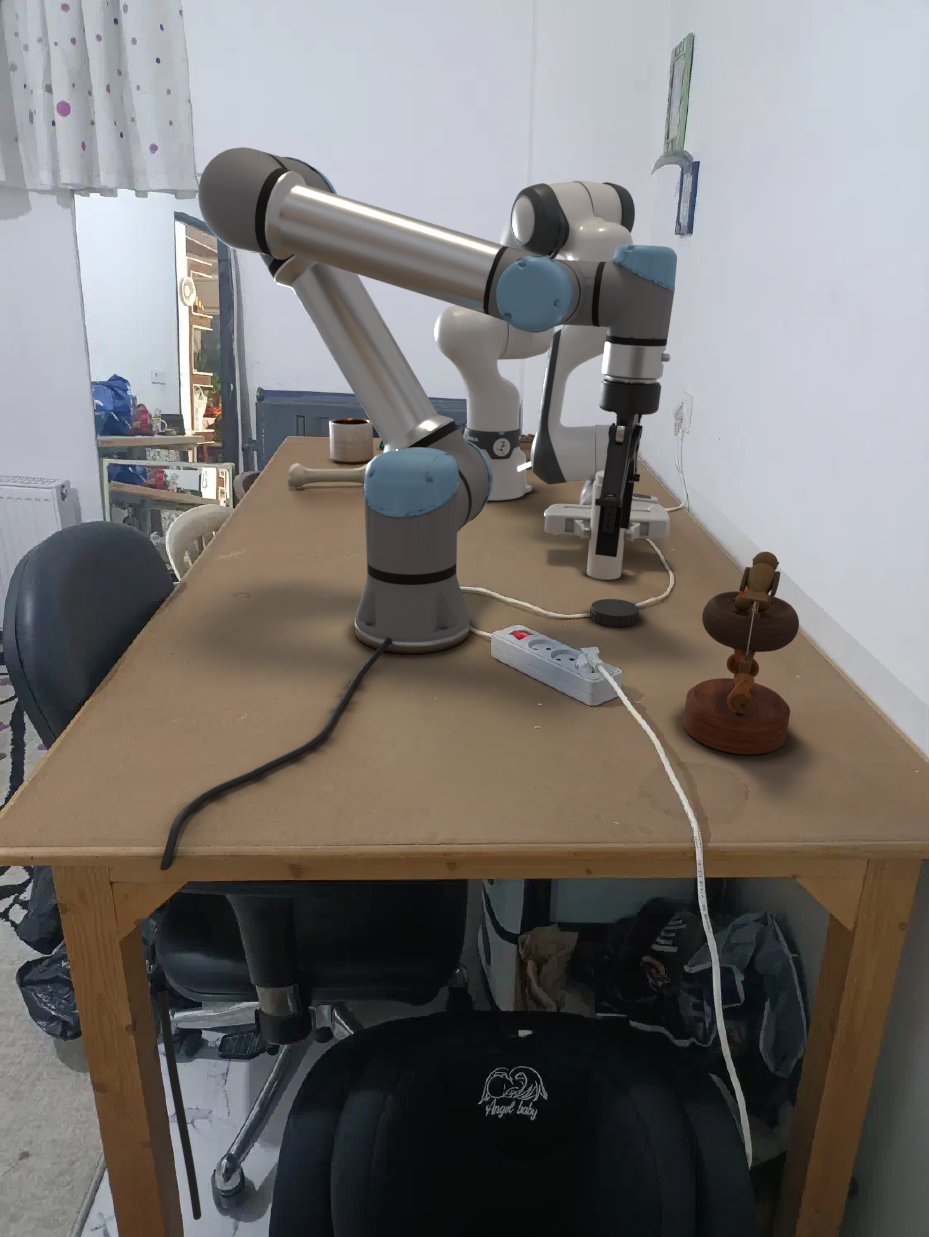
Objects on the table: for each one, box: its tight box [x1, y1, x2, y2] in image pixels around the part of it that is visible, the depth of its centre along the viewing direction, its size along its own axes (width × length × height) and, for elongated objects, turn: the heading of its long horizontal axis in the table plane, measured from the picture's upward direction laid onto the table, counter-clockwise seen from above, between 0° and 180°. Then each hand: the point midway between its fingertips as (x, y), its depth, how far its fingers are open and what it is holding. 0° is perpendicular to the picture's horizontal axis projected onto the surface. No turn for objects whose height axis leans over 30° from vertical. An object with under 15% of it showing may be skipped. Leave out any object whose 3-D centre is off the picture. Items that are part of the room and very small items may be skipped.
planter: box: [328, 417, 375, 464], centre depth 212 cm, size 11×11×10 cm
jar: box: [586, 471, 625, 581], centre depth 133 cm, size 5×5×16 cm
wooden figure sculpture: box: [682, 551, 800, 755], centre depth 87 cm, size 15×11×20 cm
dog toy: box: [286, 462, 369, 488], centre depth 187 cm, size 20×6×5 cm, turn 99°
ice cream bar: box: [519, 433, 535, 463], centre depth 219 cm, size 21×28×4 cm
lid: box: [589, 598, 640, 628], centre depth 118 cm, size 7×7×2 cm
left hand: (612, 540), depth 115 cm, fingers open, 13 cm apart
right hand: (607, 535), depth 133 cm, fingers closed on jar, 5 cm apart
